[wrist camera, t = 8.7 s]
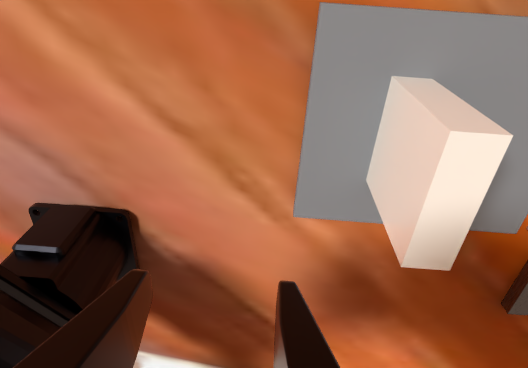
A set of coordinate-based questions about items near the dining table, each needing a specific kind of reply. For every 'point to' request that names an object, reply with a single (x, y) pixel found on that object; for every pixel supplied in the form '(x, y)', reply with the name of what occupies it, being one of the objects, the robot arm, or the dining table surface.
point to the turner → (518, 294)
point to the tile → (431, 170)
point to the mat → (375, 93)
